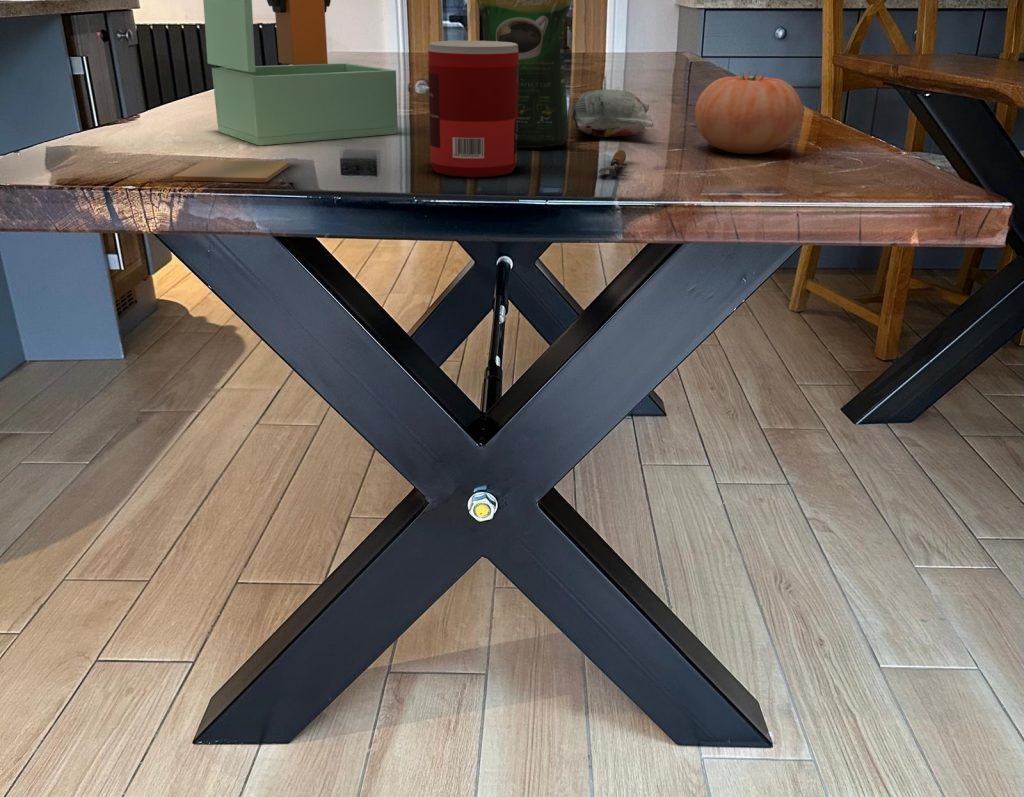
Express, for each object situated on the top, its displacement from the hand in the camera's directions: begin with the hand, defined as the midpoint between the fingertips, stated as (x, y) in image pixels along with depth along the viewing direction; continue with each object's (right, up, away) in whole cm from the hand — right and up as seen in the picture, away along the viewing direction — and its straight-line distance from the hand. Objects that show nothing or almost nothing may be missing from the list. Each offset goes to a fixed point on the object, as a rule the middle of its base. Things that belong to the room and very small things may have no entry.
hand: (299, 11), depth 102 cm
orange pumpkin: (+47, -16, -3) cm, 50 cm away
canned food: (+19, -21, -14) cm, 32 cm away
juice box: (0, -5, +2) cm, 5 cm away
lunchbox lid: (-6, +1, -5) cm, 8 cm away
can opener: (+32, -20, -14) cm, 41 cm away
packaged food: (+34, -12, +7) cm, 37 cm away
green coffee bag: (+24, -14, 0) cm, 28 cm away
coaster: (-2, -21, -17) cm, 28 cm away
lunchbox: (0, -12, +5) cm, 13 cm away
